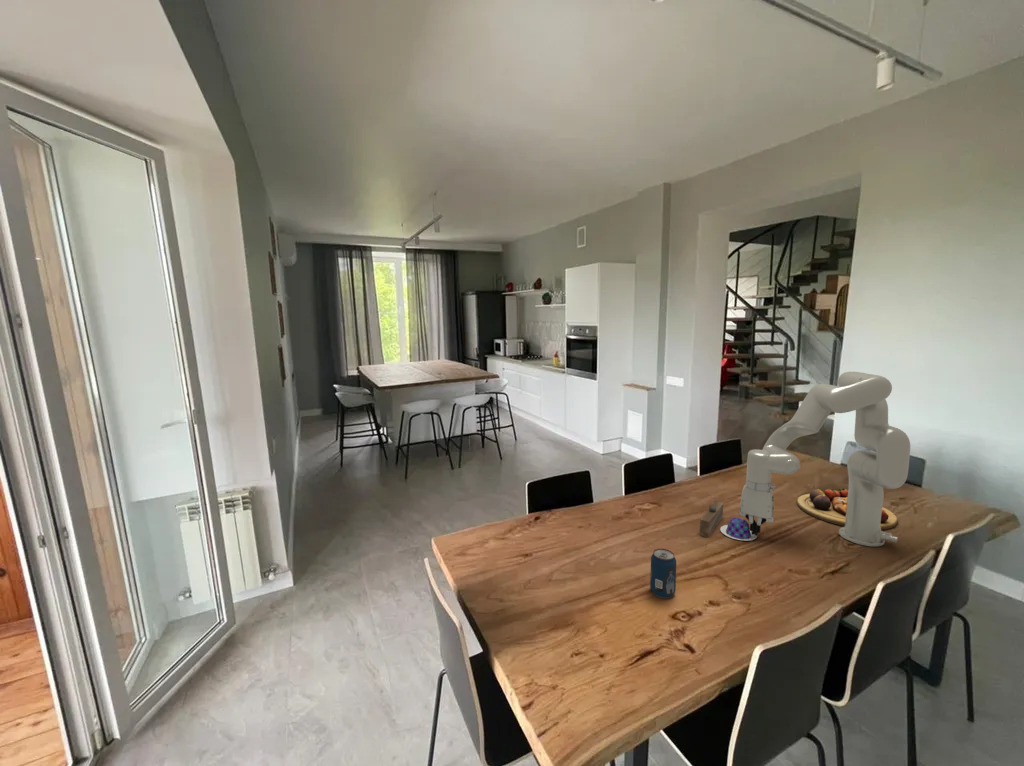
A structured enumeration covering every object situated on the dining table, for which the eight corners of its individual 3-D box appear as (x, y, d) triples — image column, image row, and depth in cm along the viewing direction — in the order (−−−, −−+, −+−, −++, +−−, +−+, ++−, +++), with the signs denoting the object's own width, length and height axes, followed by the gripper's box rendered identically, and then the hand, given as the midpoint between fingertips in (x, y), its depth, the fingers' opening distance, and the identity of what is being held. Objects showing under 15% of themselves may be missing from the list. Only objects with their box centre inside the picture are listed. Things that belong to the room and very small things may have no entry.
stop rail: (722, 517, 169) (723, 498, 168) (708, 537, 154) (709, 516, 153) (714, 515, 171) (715, 496, 170) (699, 535, 156) (700, 514, 155)
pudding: (741, 545, 149) (742, 531, 148) (712, 530, 159) (713, 517, 159) (764, 537, 154) (765, 524, 153) (734, 523, 164) (735, 511, 164)
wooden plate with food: (921, 532, 155) (923, 510, 154) (831, 531, 156) (833, 509, 155) (854, 498, 187) (856, 480, 186) (780, 497, 188) (781, 479, 187)
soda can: (655, 582, 128) (656, 545, 127) (678, 590, 124) (680, 552, 122) (646, 593, 123) (647, 555, 121) (670, 603, 119) (671, 563, 117)
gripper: (784, 486, 149) (780, 535, 151) (737, 477, 158) (734, 523, 161) (781, 493, 143) (777, 544, 145) (732, 483, 152) (729, 531, 155)
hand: (754, 533), depth 153 cm, fingers closed
